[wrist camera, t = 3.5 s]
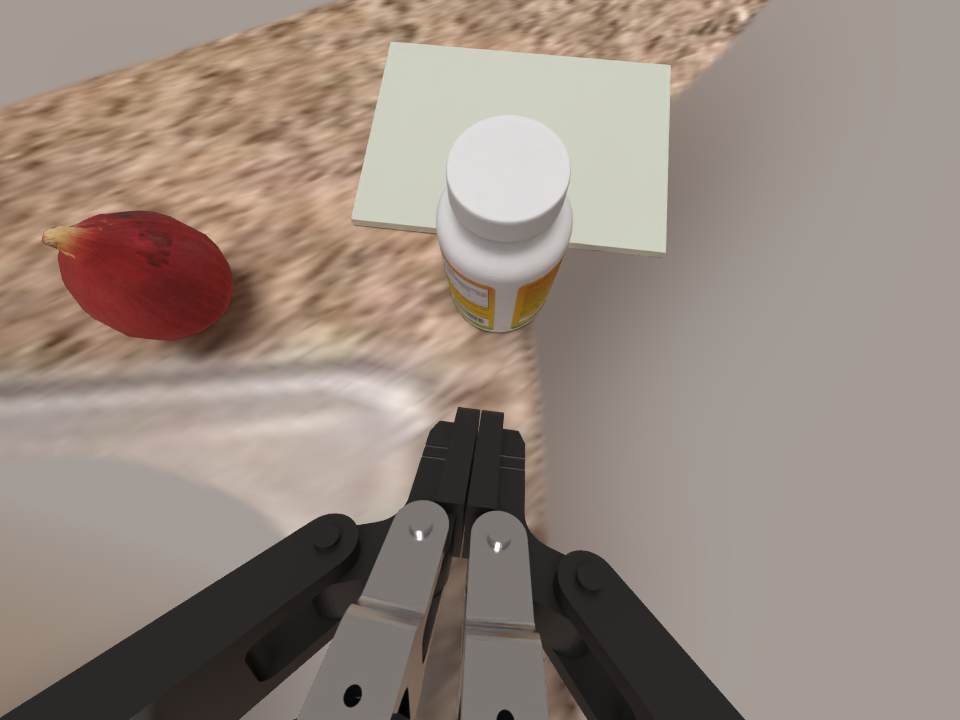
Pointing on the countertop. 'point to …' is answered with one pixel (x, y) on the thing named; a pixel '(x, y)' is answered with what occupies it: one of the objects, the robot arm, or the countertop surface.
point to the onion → (143, 273)
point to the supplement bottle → (504, 219)
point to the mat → (537, 95)
